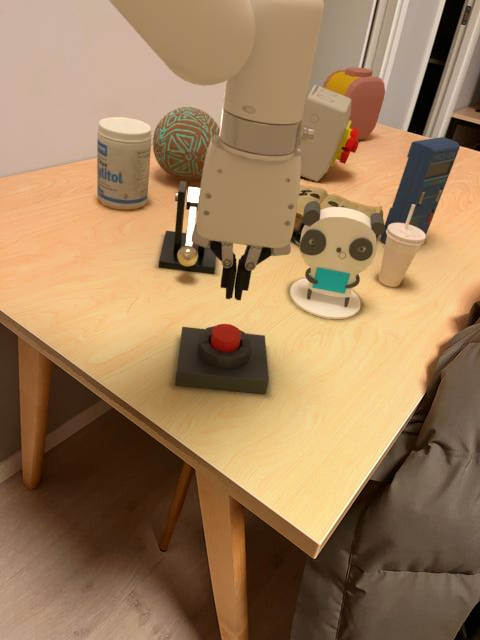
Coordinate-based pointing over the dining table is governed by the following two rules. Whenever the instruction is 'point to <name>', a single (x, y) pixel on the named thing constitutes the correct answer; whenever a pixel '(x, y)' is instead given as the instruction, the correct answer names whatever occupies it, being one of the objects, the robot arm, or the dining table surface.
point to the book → (325, 206)
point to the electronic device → (422, 182)
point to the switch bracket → (178, 240)
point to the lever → (190, 230)
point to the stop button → (225, 338)
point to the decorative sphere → (184, 142)
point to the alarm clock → (359, 96)
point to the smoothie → (399, 250)
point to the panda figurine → (334, 259)
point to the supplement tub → (123, 162)
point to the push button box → (222, 363)
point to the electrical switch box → (326, 132)
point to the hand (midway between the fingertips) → (233, 292)
